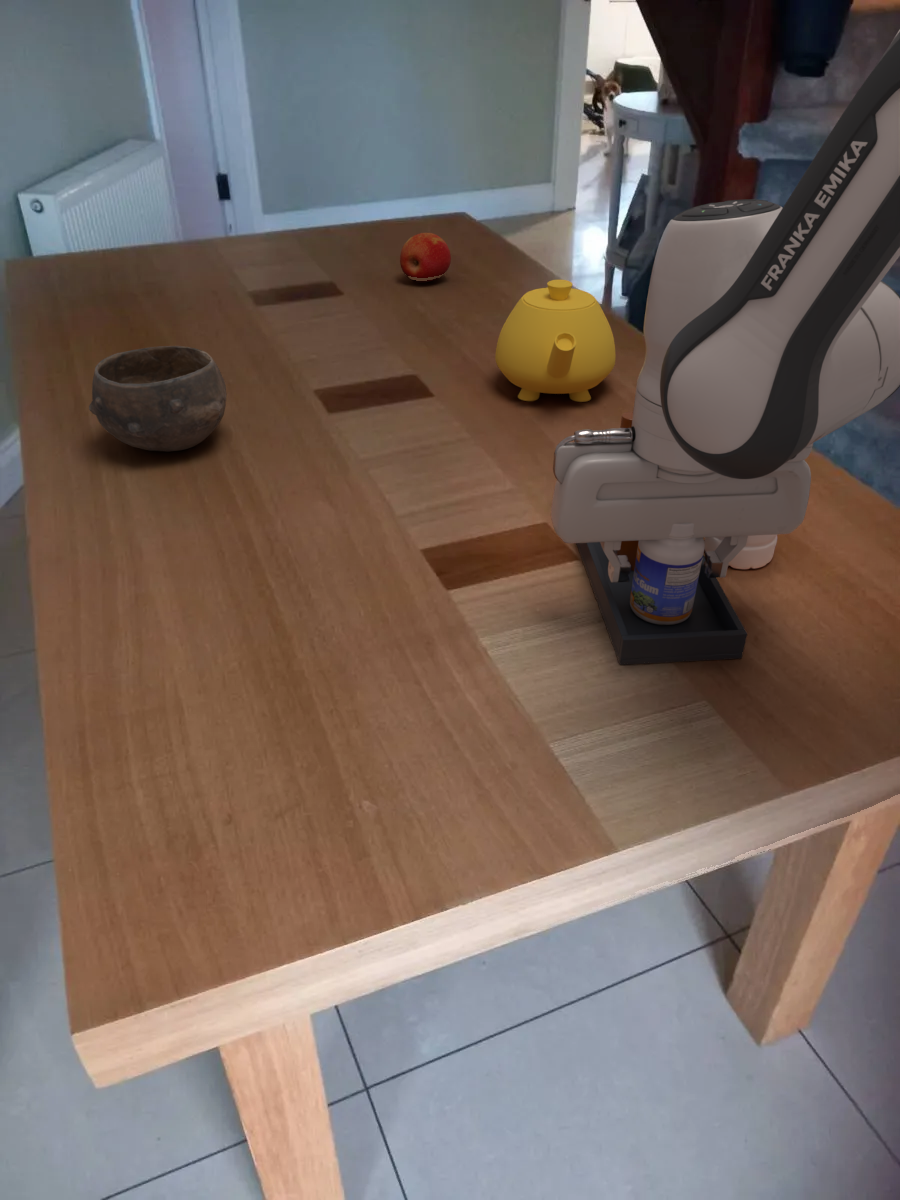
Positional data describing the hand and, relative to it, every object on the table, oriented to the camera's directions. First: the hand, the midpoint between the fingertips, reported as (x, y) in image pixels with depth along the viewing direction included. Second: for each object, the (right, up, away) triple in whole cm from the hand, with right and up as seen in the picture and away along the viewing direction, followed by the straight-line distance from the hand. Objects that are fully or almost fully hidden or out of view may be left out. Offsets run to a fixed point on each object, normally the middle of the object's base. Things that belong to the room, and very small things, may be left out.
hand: (666, 576), depth 78 cm
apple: (-23, +53, +82) cm, 101 cm away
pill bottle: (0, -3, +2) cm, 4 cm away
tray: (-1, +1, +8) cm, 8 cm away
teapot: (-5, +25, +42) cm, 49 cm away
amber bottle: (-1, +2, +8) cm, 9 cm away
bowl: (-52, +16, +30) cm, 62 cm away
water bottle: (+10, +3, +11) cm, 15 cm away
